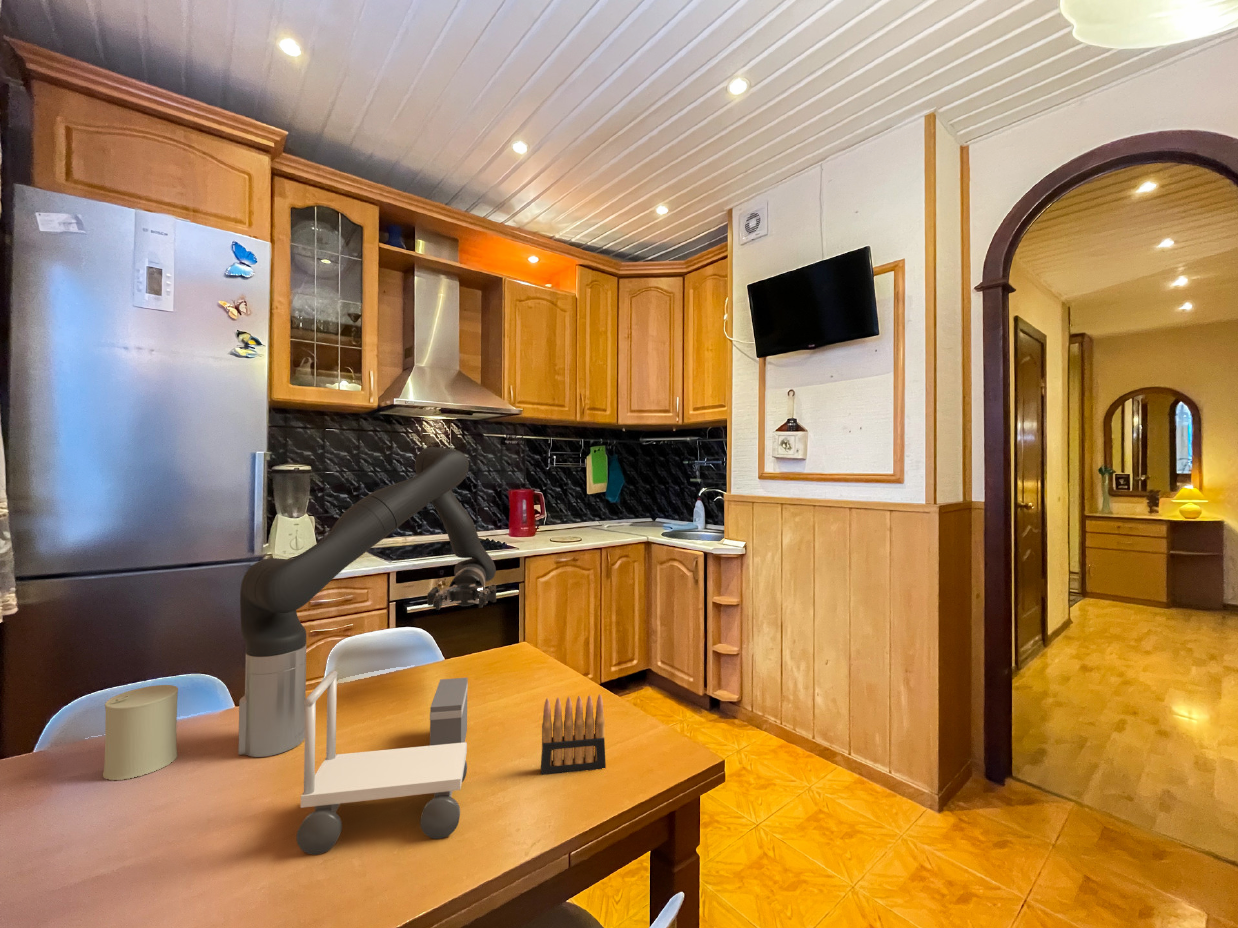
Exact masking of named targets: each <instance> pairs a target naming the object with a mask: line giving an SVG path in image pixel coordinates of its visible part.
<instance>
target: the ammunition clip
mask: <svg viewBox="0 0 1238 928" xmlns="http://www.w3.org/2000/svg"><path fill="white" fill-rule="evenodd" d="M592 699H593V698H592V696H591V695H590V694H589V695H588V697H587V699H586V704H585V705H586V706H585V717H584V712H583V710H584V709H583V708H584V707H583V701H582V698H581V696H580V695H578V697H577V698H576V703H575V713H574V716H575V717H574V718H573V704H572V703H573V702H572V700H571V697H570V696H568V697H567V699H566V702H565V709H564V721H563V716H562V715H563V714H562V711H563V710H562V703H561V700H560V698H559V697H557V698H556V701H555V704H554V710H553V711H554V713H553V714H554V715H553V722H552V709H551V703H550V700H549V698H548V697H547V698H546V699H545V701H544V706H543V716H542V724H541V755H540V756H541V757H540V759H541V760H540V775H541V776H545V775H546V776H547V775H556V774H565V773H566V774H567V772H568V773H577V772H586V770H588V771H596V769H598V770H603V769H602V768H605V769H606V768H607V767H606V766H607V763H606V745H605V744H606V742H605V739H606V738H605V716H604V702H603V697H602V695H601V694H599V695H598V696H597V700H596V708H595V709H596V711H595V719H594V704H593V700H592ZM584 718H585V719H584Z"/></svg>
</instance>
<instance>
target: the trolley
mask: <svg viewBox="0 0 1238 928" xmlns="http://www.w3.org/2000/svg"><path fill="white" fill-rule="evenodd" d="M338 673H339V672H338V671H337V670H330V672H328V674H327V675H326V676H325V677H324V678H323V679H322V680H321V682H320V683H318V684H317V686H316V687H315V688H314V689H313V690H312V691H311V692H310V693H309V694H308V696H307V697H306V699H305V700H304V705H305V738H304V748H303V749H304V750H303V751H304V753H303V754H304V755H303V760H304V762H303V763H304V764H303V792H302V793H301V795H300V808H301V809H302V808H310V807H314V811H312V812H310V813H309V814H308V815H307V816H305V818H304V819H303V821H302V822H301V824H300V826H299V827H298V830H297V832H296V843H297V847H299V849H300V850H301V851H303V852H304V853H305V854H307V855H308V854H309V855H316V856H317V855H321V854H324V853H327V852H328V851H330V850H331V849H332V848H333V847H334V846H335V845H336V843H337V842H338V840H339V837H340V835H341V832H342V830H343V821H342V820H341V819H342V818H341V817H340V815H339V814H337V811H338V808H340V807H339V806H340V805H341V804H347V803H356V802H364V801H373V800H382V799H392V798H399V797H407V796H410V797H411V796H418V795H419V796H420V795H427V794H434V795H433V796H434V797H433V798H432V799H430V800H429V801H428V802H427V803H426V804H425V806H424V807H423V810H422V813H421V817H420V821H419V822H420V823H419V824H420V828H421V830H422V832H423V834H424V835H425V836H426V837H428V838H430V839H434V840H440V839H444V838H448V837H449V836H450V835H452V834H453V833H454V832H455V830H456V829H457V828H458V825H459V822H460V817H461V808H460V805H459V803H458V801H457V800H456V799H455V798H453V797H452V794H453V791H461V789H462V784H463V782H464V781H465V779H466V776H467V773H468V772H467V771H468V763H467V760H466V758H467V754H468V753H467V752H468V744H467V743H468V742H466V741H465V742H464V743H453V744H442V745H432V746H430V745H424V746H412V747H403V748H402V747H401V748H391V749H381V750H371V751H370V750H369V751H359V752H349V753H337V754H336V750H337V748H336V743H337V742H336V741H337V738H336V737H337V684H338V683H337V678H338V676H339V674H338ZM326 690H327V691H326ZM325 691H326V698H327V699H326V751H325V753H326V756H325V759H324V760H323V762H322V763H321V764H320V766H319V768H318V770H317V771H316V770H315V769H316V768H315V767H316V766H315V765H316V763H315V762H316V714H317V713H316V711H317V710H316V704H317V703H316V702H317V701H318V699H319V698H320V697H321V696H322V694H324V692H325ZM315 771H316V773H315Z"/></svg>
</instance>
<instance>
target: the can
mask: <svg viewBox="0 0 1238 928" xmlns="http://www.w3.org/2000/svg"><path fill="white" fill-rule="evenodd" d="M178 692H179V687H178V686H176V685H174V684H171V685H170V684H159V685H157V684H156V685H150V686H145V687H140V688H135V689H131V690H128V691H124V692H122V693H120V694H117V695H114V696H112V697H111V698H109V699H108V700H107V701H106V702H105V703H104V707H105V710H104V711H105V714H104V715H105V720H104V721H105V723H104V724H105V730H104V731H105V733H104V735H105V736H104V745H105V746H104V766H103V773H102V777H103V778H104V779H105V780H107V779H109V780H108V781H114V780H117V781H125V780H124V779H127V780H131V779H130V778H132V779H135V778H134V777H137V776H141V777H143V776H142V775H144V774H147V775H149V774H148V773H150V772H153V773H154V771H155V772H157V771H159V769H160V770H162V769H163V767H164V768H166V767H167V766H168V765H170V764H171V762H172V763H173V762H174V761H175V760H176V759H177V757H178V750H177V729H178V728H177V727H178V726H177V723H178V721H177V720H178V695H179V694H178ZM165 766H166V767H165ZM161 768H162V769H161ZM156 770H157V771H156ZM150 774H151V773H150ZM144 776H145V775H144ZM137 778H138V777H137Z"/></svg>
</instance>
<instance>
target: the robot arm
mask: <svg viewBox="0 0 1238 928" xmlns="http://www.w3.org/2000/svg"><path fill="white" fill-rule="evenodd" d="M469 467H470V464H469V459H468V458H467V455H465V454H464V453H463V452H462V451H460V450H458V449H453V448H447V447H436V446H435V447H434V446H433V447H432V446H431V447H425V448H423V449H422V450H420V451H419V452H418V454H417V455H416V458H415V463H414V469H415V473H416V475H415V476H413V477H410V478H409V479H406V480H402V481H400V482H396V483H394V484H390V485H388V486H385V487H382V488H379V489H377V490H375V491H373V492H371V493H369V494H368V495H366V496H364V497H363V498H362V499H360V500H359V501H357V502H356V503H354V504H353V505H352V506H350V507H349V508H348V509H346V510H345V511H344V512H343V513H342V514H341V516H340V517H339V518H338V519H337V520H336V522H335V523H334V525H333V526H332V528H331V529H330V531H329V532H328V533H327V534H326V536H324V537H323V538H322V539H321V540H320V541H318V542H317V543H315V545H312V547H309V548H308V549H307V550H305V551H304V552H301V553H300V554H298V555H297V556H294V557H292V558H290V559H286V558H285V559H283V558H276V557H269V558H265V559H261V560H259V561H256V562H255V563H254V564H252V565H251V566H250V567H249V568H248V569H247V571H246V572H245V574H243V578H242V581H241V585H240V592H239V593H240V594H239V596H240V597H239V607H240V608H239V609H240V611H239V612H240V613H239V615H240V632H241V637H242V639H243V640H244V641H243V642H244V643H245V670H244V671H245V678H244V679H245V680H244V695H243V696H242V697H241V698H240V699H239V701H238V702H239V703H238V706H239V707H238V747H237V751H238V752H237V753H238V756H239V755H240V756H241V755H245V756H248V757H253V758H262V757H270V756H275V755H279V754H282V753H285V752H288V751H289V750H292V749H294V748H295V747H297V746H299V745H300V744H302V742H303V741H305V705H304V700H305V699H306V698H307V697H306V690H307V689H306V688H307V630H306V628H305V627H304V625H303V624H302V622H301V621H300V619H299V617H298V614H297V613H298V612H297V610H299V609H301V608H302V607H303V606H306V605H307V604H308V603H309V602H310V601H311V600H312V599H313V598H314V597H316V596H317V595H318V593H320V592H321V591H322V590H323V589H324V588H325V587H326V586H327V585H328V584H329V583H330V582H331V581H332V580H333V579H335V578H336V576H338V575H339V574H340V573H341V572H342V571H343V570H345V568H347V567H348V566H349V565H351V564H352V563H354V562H355V561H356V560H358V559H359V558H361V557H362V555H364V554H365V553H366V552H368V551H369V550H371V548H373V547H374V546H376V545H377V544H379V543H380V542H381V541H382V540H384V539H386V537H388V536H389V535H391V534H392V533H393V532H394V531H396V529H398V528H399V527H401V526H402V525H403V524H404V523H405V522H406V521H408V520H409V519H410V518H412V517H413V516H415V515H416V514H418V512H420V511H421V510H422V509H424V507H426V506H428V504H431V503H432V504H433V507H434V508H435V510H436V512H437V513H438V516H439V517H440V519H441V521H442V524H443V526H444V529H445V530H446V531H445V532H446V534H447V537H448V540H449V542H450V545H451V548H452V552H453V554H454V555H455V556H456V557H457V558H461V559H464V560H461V561H459V562H457V563H455V566H454V571H453V573H454V577H453V579H452V580H451V581H450V583H449V586H448V587H445V588H443V589H442V590H440V588H439V587H437V586H434V587H432V589H431V590H429V592H427V606H432V608H435V610H438V611H439V610H441V608H442V606H451V605H453V604H456V605H458V606H461V607H468V606H469V607H470V606H472V605H475V604H477V605H478V608H483V606H486V605H487V604H488V602H489V601H490V603H496V602H497V585H496V584H491V585H490V586H488V588H486V582H489V581H491V580H492V579H494V578H495V576H496V571H497V568H496V564H495V563H494V560H493V559H492V557H491V555H489V553H488V552H487V550H486V549H485V548H484V546H483V545H482V543H481V541H480V537H479V535H478V531H477V528H476V525H475V522H474V521H473V519H472V517H471V515H470V514H469V513H468V512H467V510H466V509H465V508H464V506H463V505H462V504H461V502H460V501H459V500H458V499H457V497H456V496H455V494H454V492H453V489H454V488H456V487H458V486H459V485H460V484H461V483H462V482H463V481H464V479H466V476H467V474H468V472H469Z"/></svg>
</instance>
